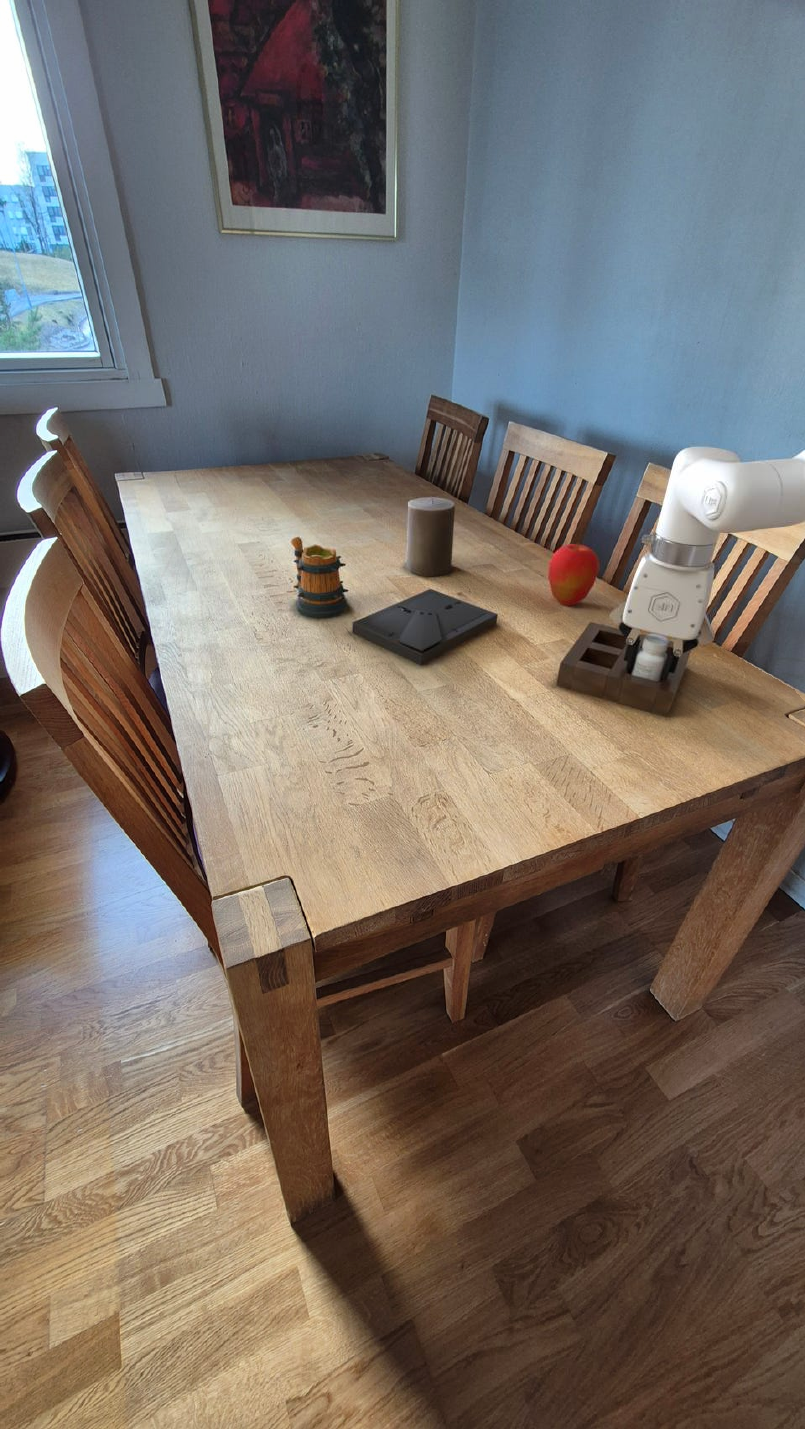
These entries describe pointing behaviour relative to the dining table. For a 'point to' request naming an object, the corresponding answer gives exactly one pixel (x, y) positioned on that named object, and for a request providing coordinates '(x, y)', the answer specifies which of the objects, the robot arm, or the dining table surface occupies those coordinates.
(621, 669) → the grid rack
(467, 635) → the picture frame
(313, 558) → the mug
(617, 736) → the dining table surface
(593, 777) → the dining table surface
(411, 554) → the pillar candle
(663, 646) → the pill bottle
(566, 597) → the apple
